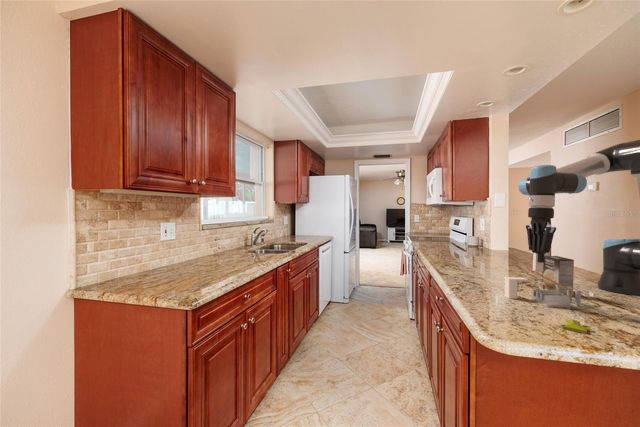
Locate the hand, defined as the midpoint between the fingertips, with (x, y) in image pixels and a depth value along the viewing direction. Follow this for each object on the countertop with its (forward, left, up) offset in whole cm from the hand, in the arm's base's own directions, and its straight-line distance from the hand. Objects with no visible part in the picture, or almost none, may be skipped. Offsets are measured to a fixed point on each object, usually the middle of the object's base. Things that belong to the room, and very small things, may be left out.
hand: (537, 270), depth 104 cm
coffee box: (-17, -15, -14) cm, 27 cm away
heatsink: (-4, 0, -12) cm, 13 cm away
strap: (-5, 0, -5) cm, 7 cm away
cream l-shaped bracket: (+4, -6, -12) cm, 14 cm away
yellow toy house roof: (+1, +19, -14) cm, 24 cm away
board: (-4, 0, -13) cm, 14 cm away
